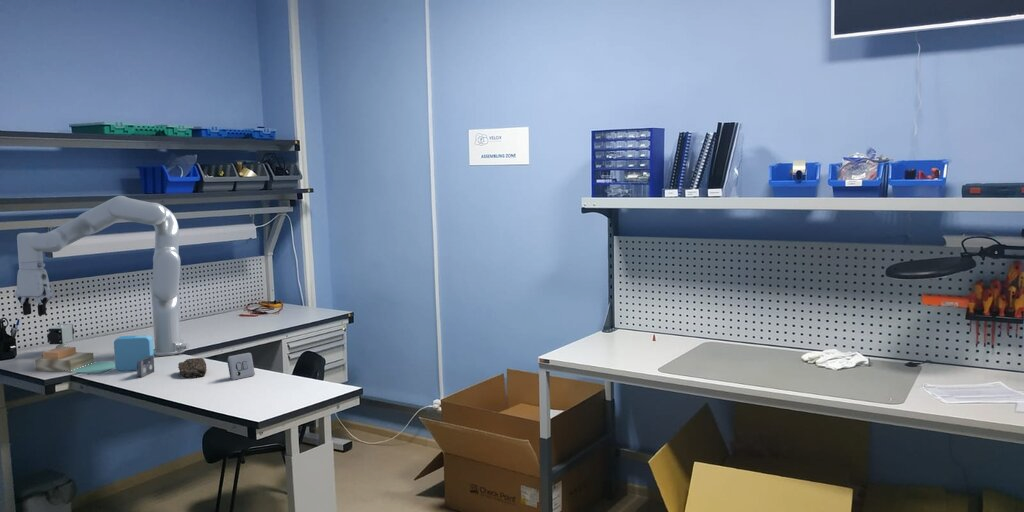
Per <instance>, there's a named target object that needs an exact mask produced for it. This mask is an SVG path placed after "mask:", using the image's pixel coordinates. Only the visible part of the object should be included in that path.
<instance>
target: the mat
mask: <svg viewBox="0 0 1024 512" xmlns="http://www.w3.org/2000/svg"><path fill="white" fill-rule="evenodd" d="M113 369H116V368H115V361H101V360H100V361H99V360H98V361H94V363H92V364H89V365H86V366H84V367H81V368H78V369H75V370H72V371H69V373H70V372H76V373H75V374H77V373H78V374H102V373H105V372H108V371H110V370H113Z"/></svg>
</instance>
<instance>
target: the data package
mask: <svg viewBox="0 0 1024 512" xmlns="http://www.w3.org/2000/svg"><path fill="white" fill-rule="evenodd" d="M113 349H114V350H113V351H114V362H115V368H114V369H115V370H117V371H118V372H125V371H131V372H132V371H137V361H140V360H142V359H144V358H146V357H148V356H153V357H154V358H155V355H154V351H153V349H154V337H152V336H151V335H147V334H144V335H122V336H119V337H117V338H116V339H115V340H113Z"/></svg>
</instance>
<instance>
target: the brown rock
mask: <svg viewBox="0 0 1024 512" xmlns="http://www.w3.org/2000/svg"><path fill="white" fill-rule="evenodd" d="M177 367H178V370H179V373H180V375H181V376H183V377H187V378H188V379H190V378H200V377H204V376H206V374H207V370H208V369H207V363H206V361H205V359H204V358H203V357H194V358H187V359H185V360H184V361H181V362H179V363H178V366H177Z"/></svg>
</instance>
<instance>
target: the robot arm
mask: <svg viewBox="0 0 1024 512" xmlns="http://www.w3.org/2000/svg"><path fill="white" fill-rule="evenodd" d="M122 220H125V221H129V222H133V223H139V224H144V225H147V226H148V225H149V226H153V227H154V230H155V231H154V235H155V236H154V240H155V241H154V250H153V251H154V252H153V256H152V263H153V265H152V279H151V283H150V291H151V292H150V293H151V304H152V306H151V307H152V324H153V325H152V326H153V347H154V348H153V351H154V357H155V356H157V357H160V356H161V357H162V356H163V357H164V356H165V357H166V356H175V355H179V354H182V353H185V352H186V350H189V347H190V343H184V340H183V339H181V325H180V324H181V323H180V305H179V304H180V303H179V301H180V300H179V290H180V279H181V256H180V254H179V253H180V252H179V249H180V248H179V247H180V240H179V239H180V229H179V227H180V226H179V223H178V220H177V218H176V216H175V214H174V213H173V212H172V210H170V209H168V208H167V207H166V206H164V205H162V204H160V203H159V202H149V201H145V200H142V199H141V200H140V199H135V198H130V197H127V196H125V195H117V196H115V197H113V198H111V199H108V200H106V201H105V202H102V203H101V204H99V205H97V206H94V207H93V208H91V209H88V210H86V211H85V212H83V213H81V214H79V215H78V216H77V217H75V218H74V219H72V220H70V221H68V222H66V223H64V224H62V225H60V226H58V227H56V228H55V229H52V230H50V231H47V232H41V233H40V232H32V231H31V232H20V233H18V234H17V236H16V240H17V241H16V242H17V243H16V245H17V256H18V259H17V260H18V268H19V269H18V270H17V274H16V275H17V277H16V291H15V292H14V294H13V296H14V297H15V298H16V299H17V300H18V301H19V302H20V305H22V315H23V316H28V315H31V314H32V303H30V300H31V298H36V300H37V303H38V304H37V315H38V316H39V317H40V316H44V315H47V304H48V302H49V301H50V299H51V298H52V297H53V296H54V295H53V292H52V291H51V287H50V280H49V276H48V272H47V270H46V269H45V267H46V263H44V256H43V252H45V253H56V252H60V251H61V250H62V249H64V248H65V247H67V246H69V245H72V244H73V243H75V242H77V241H79V240H80V239H83V238H85V237H87V236H90V235H94V234H96V233H98V232H101V231H102V230H104V229H107V228H108V227H110V226H112V225H114V224H116V223H117V222H120V221H122Z"/></svg>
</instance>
